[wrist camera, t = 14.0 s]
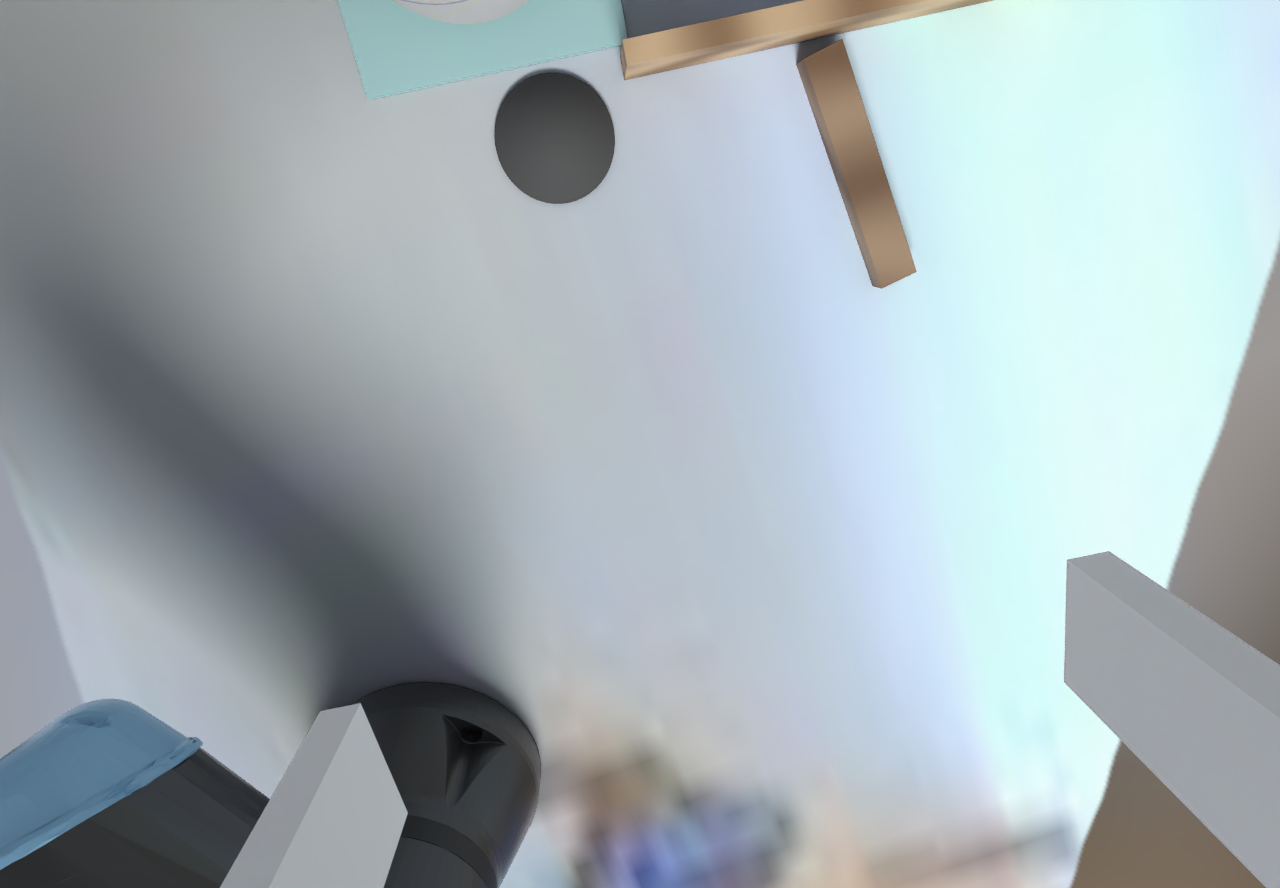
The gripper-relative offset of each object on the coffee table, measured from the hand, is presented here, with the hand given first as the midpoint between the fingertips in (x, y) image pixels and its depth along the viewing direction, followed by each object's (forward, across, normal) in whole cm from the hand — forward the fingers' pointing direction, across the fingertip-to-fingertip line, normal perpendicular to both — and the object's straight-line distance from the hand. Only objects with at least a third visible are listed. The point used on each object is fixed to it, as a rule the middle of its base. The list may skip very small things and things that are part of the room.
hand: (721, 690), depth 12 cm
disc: (+27, -2, +12) cm, 30 cm away
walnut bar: (+27, +13, +8) cm, 31 cm away
